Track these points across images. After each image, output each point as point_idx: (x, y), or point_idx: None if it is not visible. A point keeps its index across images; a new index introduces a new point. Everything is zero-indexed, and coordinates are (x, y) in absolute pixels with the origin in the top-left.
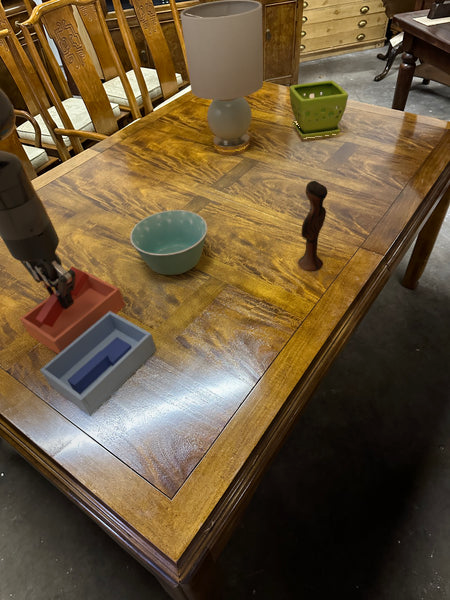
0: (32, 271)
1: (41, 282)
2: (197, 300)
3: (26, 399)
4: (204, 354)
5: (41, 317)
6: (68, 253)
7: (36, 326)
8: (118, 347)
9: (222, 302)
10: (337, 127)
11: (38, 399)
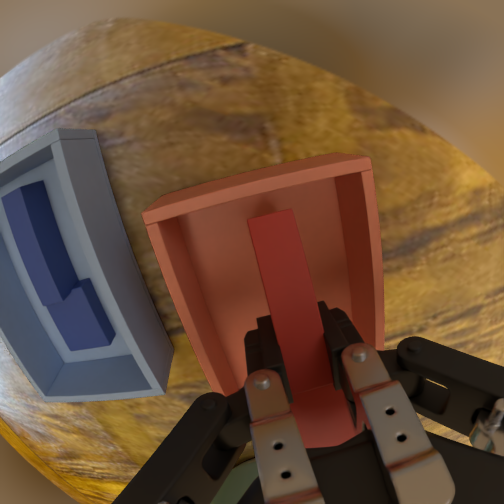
0: (413, 429)
1: (374, 368)
2: (150, 455)
3: (102, 64)
4: (33, 398)
5: (271, 232)
6: (477, 342)
7: (275, 189)
8: (76, 330)
9: (124, 465)
10: None
11: (80, 91)
